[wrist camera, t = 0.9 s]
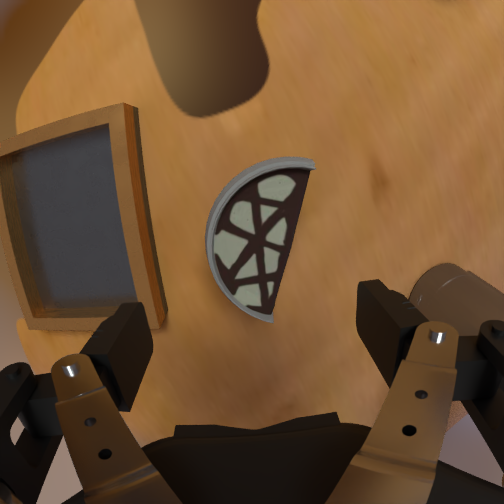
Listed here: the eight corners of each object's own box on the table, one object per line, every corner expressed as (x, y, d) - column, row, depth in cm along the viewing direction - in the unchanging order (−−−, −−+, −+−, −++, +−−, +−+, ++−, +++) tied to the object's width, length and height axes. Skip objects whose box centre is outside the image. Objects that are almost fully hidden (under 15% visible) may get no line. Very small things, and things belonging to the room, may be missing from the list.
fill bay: (137, 107, 27) (123, 102, 24) (168, 309, 34) (159, 328, 30) (9, 145, 28) (-13, 147, 24) (44, 314, 34) (28, 329, 30)
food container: (230, 142, 29) (223, 137, 19) (294, 157, 29) (318, 159, 20) (204, 265, 32) (188, 312, 23) (264, 278, 33) (271, 329, 23)
